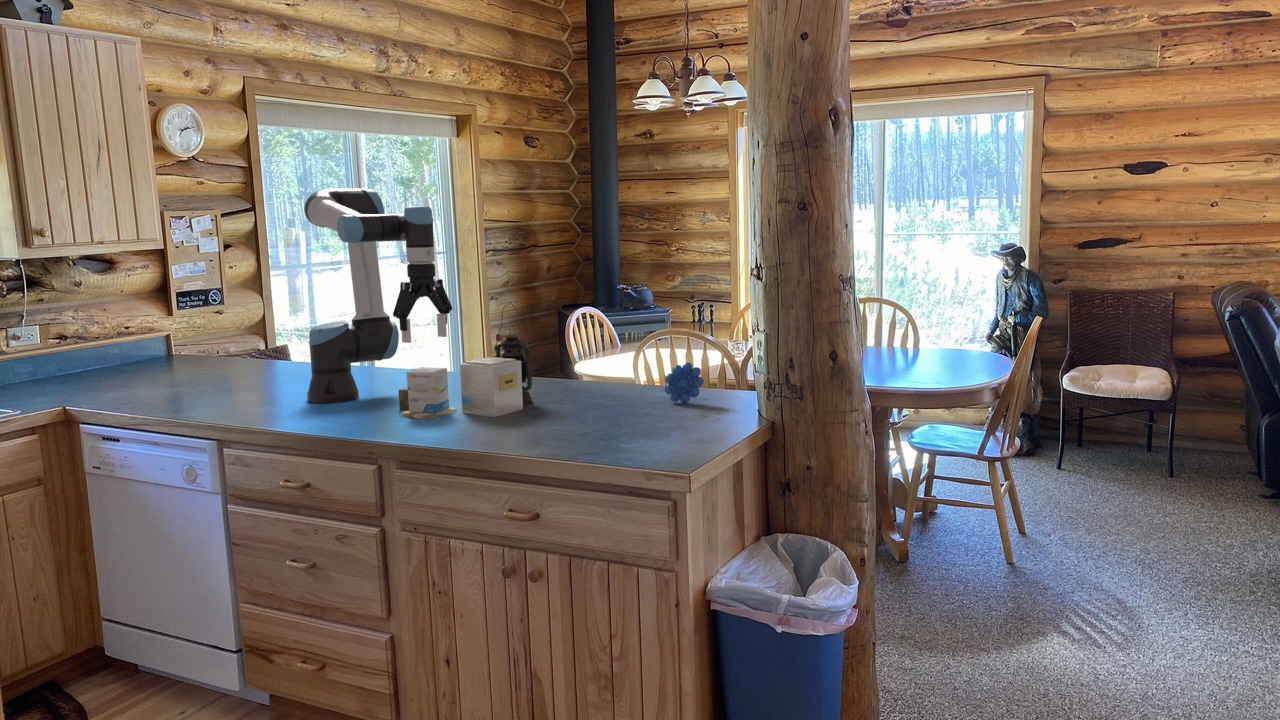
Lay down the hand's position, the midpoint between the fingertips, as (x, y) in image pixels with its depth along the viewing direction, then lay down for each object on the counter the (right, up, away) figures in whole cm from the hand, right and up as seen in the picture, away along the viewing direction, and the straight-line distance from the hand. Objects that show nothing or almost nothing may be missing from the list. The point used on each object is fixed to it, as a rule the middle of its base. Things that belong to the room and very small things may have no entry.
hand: (424, 339), depth 266 cm
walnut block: (-6, -20, +11) cm, 23 cm away
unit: (+18, -20, +5) cm, 28 cm away
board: (+1, -21, +3) cm, 21 cm away
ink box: (+1, -20, +3) cm, 20 cm away
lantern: (+23, -19, +17) cm, 34 cm away
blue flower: (+73, -18, +11) cm, 76 cm away
